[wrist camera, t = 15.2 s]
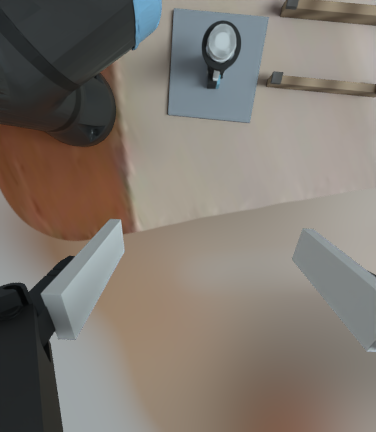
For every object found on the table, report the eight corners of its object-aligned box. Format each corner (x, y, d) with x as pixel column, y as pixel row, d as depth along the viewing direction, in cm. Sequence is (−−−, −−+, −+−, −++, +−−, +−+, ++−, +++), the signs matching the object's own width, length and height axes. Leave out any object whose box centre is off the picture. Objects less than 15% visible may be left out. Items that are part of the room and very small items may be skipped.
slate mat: (168, 115, 36) (168, 114, 36) (174, 10, 31) (174, 8, 31) (249, 122, 36) (249, 122, 35) (267, 19, 31) (268, 17, 30)
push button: (201, 46, 32) (204, -1, 23) (232, 48, 32) (247, 1, 22) (199, 90, 34) (200, 64, 25) (227, 92, 34) (239, 66, 24)
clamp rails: (266, 88, 34) (271, 82, 31) (282, 5, 30) (289, -8, 28) (373, 98, 34) (387, 93, 31) (402, 16, 30) (421, 4, 28)
